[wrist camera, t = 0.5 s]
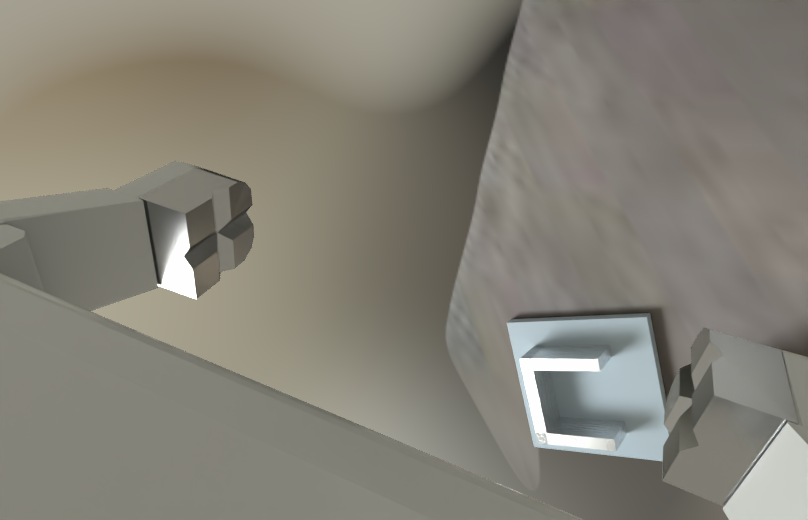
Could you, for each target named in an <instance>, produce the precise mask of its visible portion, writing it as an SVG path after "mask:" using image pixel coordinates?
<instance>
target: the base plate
mask: <svg viewBox="0 0 808 520" xmlns="http://www.w3.org/2000/svg"><path fill="white" fill-rule="evenodd" d="M507 326H508V331H509V335H510V340H511V344H512V349H513V353H514V358H515V362H516V367H517V372H518V376H519V381H520V385H521V390H522V394H523V399H524V403H525V408H526V412H527V417H528V421H529V426H530V430H531V435H532V439H533V444H534V447H540V448H541V447H542V448H550V449H559V450H567V451H576V452H585V453H594V454H604V455H613V456H622V457H630V458H639V459H649V460H657V461H663V446H664V444H665V442H666V440H667V438H668V437H669V435H670V433H669V431H668V430H667V428H666V427H665V425H664V412H665V406H666V395H665V390H664V385H663V379H662V374H661V369H660V363H659V358H658V353H657V347H656V342H655V337H654V331H653V326H652V321H651V315H650V313H639V314H617V315H594V316H572V317H550V318H527V319H511V320H510V321H509V322H507ZM564 345H610V348H611V353H612V358H611V359H610V360H609V361H608V363H607V364H606V365H605V366H604V368H603V369H602V370H601V371H550V372H551V376H552V381H553V386H554V390H555V395H556V400H557V405H558V409H559V414H560V417H569V418H583V419H597V420H610V421H624V422H625V423H626V429H627V434H626V436H625V438H624V439H623V441H622V443H621V444H620V446H619V448H618V449H617V451H608V450H598V449H589V448H580V447H570V446H561V445H551V444H542V443H538V441H537V436H536V432H535V427H534V423H533V418H532V413H531V409H530V404H529V400H528V395H527V391H526V386H525V382H524V377H523V373H522V368H521V363H520V358H521V357H522V356H523V355H524V354H526V353H527V352H528V351H529V350H530V349H531V348H532V347H534V346H564Z"/></svg>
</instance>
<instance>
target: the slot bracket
mask: <svg viewBox="0 0 808 520" xmlns="http://www.w3.org/2000/svg"><path fill="white" fill-rule="evenodd" d="M611 358H612V353H611V348H610V345H564V346H534V347H532V348H531V349H530V350H529V351H528V352H527V353H526V354H524V355H523V356H522V357H521V358H520V363H521V368H522V373H523V377H524V382H525V386H526V391H527V395H528V400H529V404H530V409H531V413H532V418H533V423H534V427H535V432H536V436H537V441H538V443H542V444H551V445H561V446H570V447H580V448H589V449H598V450H608V451H617V449H618V448H619V446H620V444H621V443H622V441H623V439H624V438H625V436H626V434H627V429H626V423H625V422H624V421H610V420H597V419H583V418H569V417H560V414H559V409H558V405H557V400H556V395H555V390H554V386H553V381H552V376H551V372H550V371H601V370H602V369H603V368H604V366H605V365H606V364H607V363H608V361H609V360H610V359H611Z"/></svg>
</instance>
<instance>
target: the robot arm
mask: <svg viewBox="0 0 808 520" xmlns="http://www.w3.org/2000/svg"><path fill="white" fill-rule="evenodd" d="M251 206H252V197H251V189H250V188H249V186H248V185H247V184H246V183H245V182H242V181H239V180H236V179H233V178H230V177H227V176H225V175H221V174H219V173H216V172H213V171H210V170H207V169H203V168H201V167H198V166H195V165H192V164H188V163H185V162H179V161H173V162H171V163H169V164H167V165H165V166H163V167H161V168H159V169H157V170H155V171H153V172H151V173H149V174H146V175H144V176H142V177H140V178H138V179H136V180H134V181H132V182H130V183H128V184H126V185H124V186H122V187H120V188H117V189H116V190H112V189H109V188H104V189H96V190H88V191H80V192H72V193H63V194H55V195H48V196H39V197H31V198H23V199H15V200H7V201H0V520H583V519H580V518H578V517H576V516H573V515H571V514H569V513H566V512H564V511H562V510H559V509H557V508H555V507H552V506H550V505H548V504H545V503H543V502H540V501H538V500H536V499H533V498H531V497H529V496H526V495H524V494H522V493H519V492H517V491H514V490H512V489H510V488H508V487H505V486H503V485H500V484H498V483H496V482H493V481H491V480H489V479H486V478H484V477H481V476H479V475H477V474H474V473H472V472H470V471H467V470H465V469H463V468H460V467H458V466H455V465H453V464H451V463H449V462H446V461H444V460H441V459H439V458H437V457H434V456H432V455H430V454H427V453H425V452H423V451H420V450H418V449H416V448H413V447H411V446H409V445H406V444H403V443H401V442H399V441H397V440H394V439H392V438H390V437H387V436H385V435H383V434H380V433H378V432H375V431H373V430H371V429H368V428H366V427H364V426H361V425H359V424H356V423H354V422H352V421H349V420H347V419H345V418H342V417H340V416H337V415H335V414H333V413H330V412H328V411H326V410H323V409H321V408H319V407H316V406H314V405H311V404H309V403H307V402H304V401H302V400H299V399H297V398H295V397H292V396H290V395H288V394H285V393H283V392H281V391H278V390H276V389H273V388H271V387H269V386H266V385H264V384H261V383H259V382H256V381H254V380H252V379H249V378H247V377H245V376H242V375H240V374H238V373H235V372H233V371H230V370H228V369H226V368H223V367H221V366H219V365H216V364H214V363H212V362H209V361H207V360H204V359H202V358H200V357H197V356H195V355H193V354H190V353H188V352H186V351H183V350H181V349H178V348H176V347H174V346H171V345H169V344H166V343H164V342H162V341H159V340H157V339H154V338H152V337H150V336H148V335H145V334H143V333H141V332H138V331H136V330H133V329H131V328H129V327H126V326H124V325H122V324H119V323H117V322H114V321H112V320H110V319H107V318H105V317H102V316H100V315H98V314H96V313H93V312H91V311H93V310H96V309H98V308H101V307H104V306H107V305H110V304H113V303H116V302H119V301H121V300H124V299H127V298H130V297H133V296H136V295H139V294H141V293H145V292H147V291H150V290H153V289H156V288H158V286H161V287H164V288H167V289H169V290H172V291H175V292H178V293H181V294H183V295H186V296H189V297H192V298H195V299H197V298H198V297H199V296H201V295H202V294H203V293H205V292H206V291H207V290H208V289H210V288H211V287H212V286H213V285H215V284H216V283H217V282H219V281H220V273H221V272H222V271H226V270H230V269H234V268H236V267H237V266H238V265H239V264H241V263H242V262H243V261H244V260H245V258H246V256H247V255H248V253H249V251H250V249H251V247H252V242H253V238H254V227H253V223H252V222H251V220H250V218H249V217H248V215H247V213H246V212H247V211H248V210H249V208H250V207H251ZM664 425H665V427H666V428H667V430H668V431H669V433H670V435H669V437H668V438H667V440H666V442H665V444H664V446H663V474H662V475H663V476H662V477H663V478H662V481H664V482H667V483H669V484H671V485H674V486H676V487H679V488H681V489H683V490H686V491H688V492H691V493H693V494H696V495H698V496H700V497H703V498H705V499H707V500H710V501H712V502H715V503H717V504H719V505H722V506H724V508H723V510H724V512H725V514H726V515H727V517H728V519H729V520H808V357H806V356H802V355H799V354H795V353H792V352H788V351H784V350H781V349H776V348H773V347H769V346H766V345H762V344H759V343H756V342H752V341H749V340H745V339H742V338H738V337H735V336H732V335H728V334H725V333H721V332H718V331H714V330H711V329H707V328H703V329H702V331H701V332H700V333H699V334H698V336H697V338H696V339H695V341H694V343H693V345H692V347H691V364H689V365H686V366H684V367H682V368H680V369H679V371H678V373H677V375H676V377H675V379H674V381H673V383H672V386H671V389H670V391H669V394H668V397H667V401H666V406H665V412H664Z"/></svg>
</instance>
